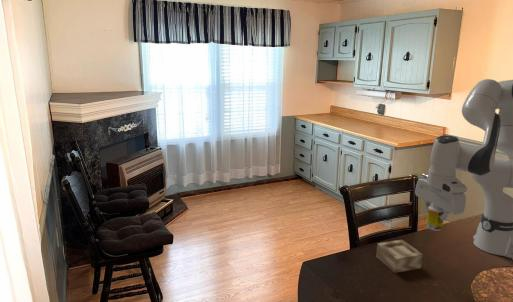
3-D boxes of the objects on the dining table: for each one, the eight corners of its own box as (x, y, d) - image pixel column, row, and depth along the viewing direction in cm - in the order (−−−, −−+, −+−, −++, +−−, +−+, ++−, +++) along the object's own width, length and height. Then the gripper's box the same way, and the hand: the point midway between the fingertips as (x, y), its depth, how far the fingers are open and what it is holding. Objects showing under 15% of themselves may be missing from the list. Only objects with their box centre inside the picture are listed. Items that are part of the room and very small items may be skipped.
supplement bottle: (436, 232, 128) (440, 206, 126) (422, 226, 133) (426, 201, 130) (444, 229, 131) (449, 203, 129) (430, 223, 136) (434, 198, 133)
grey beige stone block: (400, 252, 149) (402, 239, 147) (420, 268, 137) (422, 254, 136) (375, 256, 145) (377, 243, 144) (394, 272, 134) (396, 258, 133)
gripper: (413, 172, 136) (409, 206, 140) (456, 190, 117) (450, 228, 121) (426, 171, 138) (422, 204, 142) (471, 189, 119) (464, 226, 123)
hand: (435, 215), depth 131 cm, fingers closed on supplement bottle, 6 cm apart
